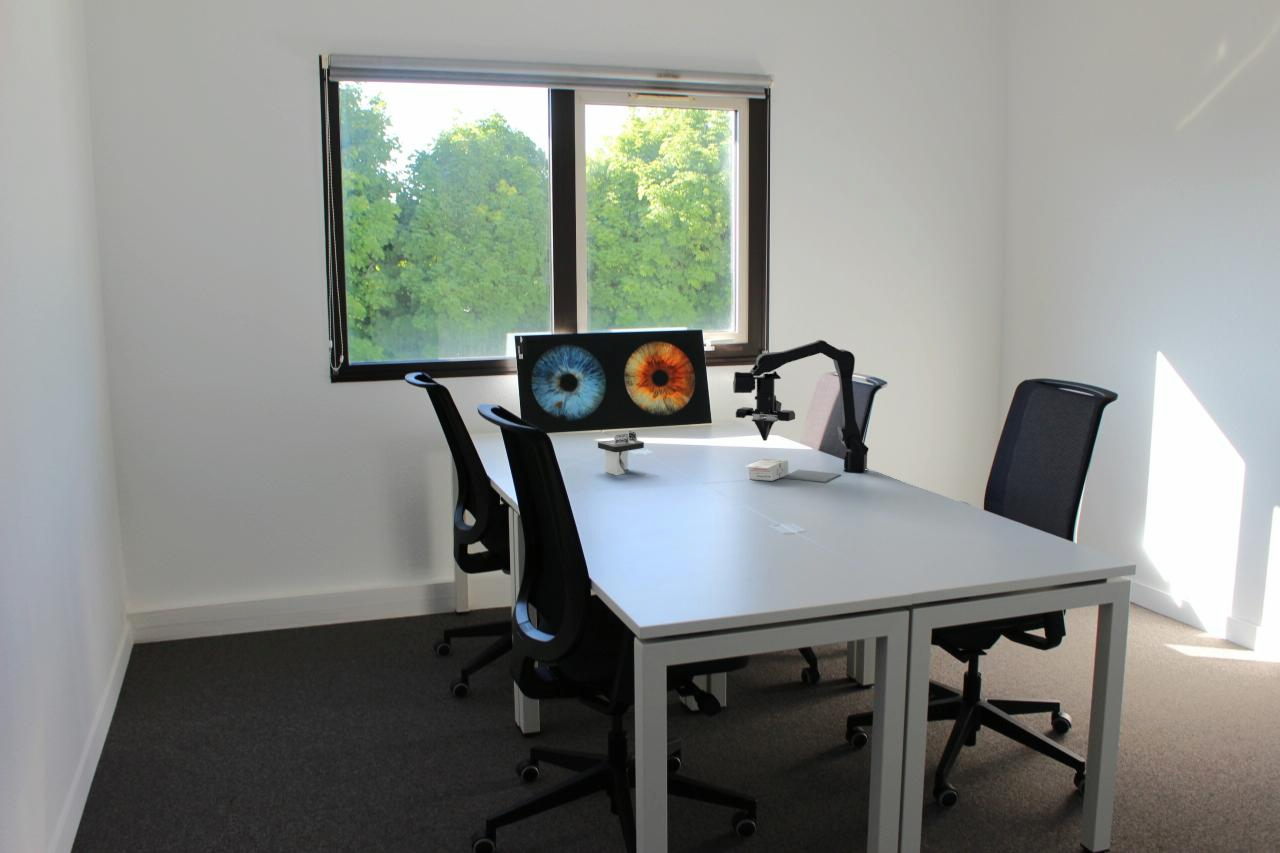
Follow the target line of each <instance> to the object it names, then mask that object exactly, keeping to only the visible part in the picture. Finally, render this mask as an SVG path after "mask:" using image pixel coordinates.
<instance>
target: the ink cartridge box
mask: <svg viewBox="0 0 1280 853" xmlns="http://www.w3.org/2000/svg"><path fill="white" fill-rule="evenodd" d="M745 468H748V478H749V480H755V481H757V480H758V481H768V482H771V481H776V480H777V479H780V478H782V477H783V476H786V475H788V474H789V473H790V472H789V460H788V459H771V458H770V459H767V458H766V459H765V458H763V459H761V460H759V461H755V462H752V463H749V464H747V465H745Z"/></svg>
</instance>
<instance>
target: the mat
mask: <svg viewBox="0 0 1280 853" xmlns="http://www.w3.org/2000/svg"><path fill="white" fill-rule="evenodd" d="M840 476H841V473H834V472H827V471H826V472H825V471H818V470H817V471H816V470H815V471H814V470H806V469H797V470H794V471H792V472H789V474H788V475H786V476H783V477H781V479H786V480H787V479H788V480H796V481H797V480H798V481H804V482H815V483H822V484H823V483H824V484H826V483H828V482H829V481H832V480H834V479H835V478H838V477H840Z"/></svg>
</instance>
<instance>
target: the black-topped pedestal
mask: <svg viewBox="0 0 1280 853" xmlns="http://www.w3.org/2000/svg"><path fill="white" fill-rule="evenodd" d="M624 437H626V438H624ZM613 438H614V440H605V441H602V440H601V441H598V442H597V448H598V449H600V450H604V472H605V473H607V474H611V475H614V476H620V475H623V474H625V471H626V470H628V468H629V460H628V459H629V455H628V454H629V451H633V450H635V451H636V450H639V449H645V442H644V441H641V440H638V432H633V431H632V430H631V431H630V430H627V433H625V434H622V435H619V434H617V435H616V434H613Z"/></svg>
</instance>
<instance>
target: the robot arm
mask: <svg viewBox="0 0 1280 853" xmlns="http://www.w3.org/2000/svg"><path fill="white" fill-rule="evenodd" d="M819 354H822V355H825V356H826V357H828V358H829V359H830V360H833V361H832V362H833V365H834V369H835V371H836V374H837V377H838V381H839V382H838V383H839V393H840V394H839V395H840V403H841V415H842V422H841V426H840V425H839V426H836V427H837V431H838V436H837V439H839V440H840V442H841V444H842V445H843V446H845V448H846V451H845V455H844V456H843V472H845V473H846V472H847V473H858V474H863V473H865V472H867V471H868V470H869V468H868V466H867V465H868V451H869V447H868V446H867V445H866V444H864V442H863V440H862V435H861V431H860V428H859V425H858V423H857V420H856V418H857V417H856V412H855V411H856V407H855V398H854V397H855V396H854V387H853V385H854V384H853V383H854V382H853V374H854V370H855V364H856V363H855V362H856V358H855V355H854V354H853V353H852V352H851V351H849V350H846V349H843V348H842V349H839V348H837V347H835V346H834V345H831V344H829V343H827V341H825V340H823V339H818V340H816V341H813V342H810V343H807V344H803V345H799V346H797V347H793V348H791V349H787V350H784V351H783V350H782V351H774V352H764V353H761V354H759V355H758V356H757V357H756V360H755V364H754V366H753V367H752V368H751V370H750V371H749V372H745V371H743V372H741V371H734V373H733V374H734V376H733V381H732V387H733V388H732V390H733V393H734V394H752V392H753V391H754V390H756V395H755V396H754V400H756V403H755V404H756V408H755V409H754V407H746V406H745V407H744V406H743V407H740V408H737V409H736V411H735V418H737V419H738V418H739V419H745V418H746V417H752V419H751V422H754V424H755V426H756V427H757V429H758V432H759V434H760V437H761V439H762V441H765V442H766V441H767V440H768V438H769V435H770V432H771V431H772V430H771V429H772V427H773V425H774V423H775V422H778V421H779V422H790V421H793V420H795V419H796V413H795V410H789V409H783V410H781V409H782V404H783V403H782V402H781V401H779V400H777V395H775V380H781V378H782V377H781V376H780V375H779V374H778V373H777V371H776V370H778V369H780V368H781V367H782V366H784V365H786V364H788V363H791V362H795V361H798V360H802V359H805V358H808V357H812V356H815V355H819ZM771 372H772V373H771ZM865 469H868V470H865Z"/></svg>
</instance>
